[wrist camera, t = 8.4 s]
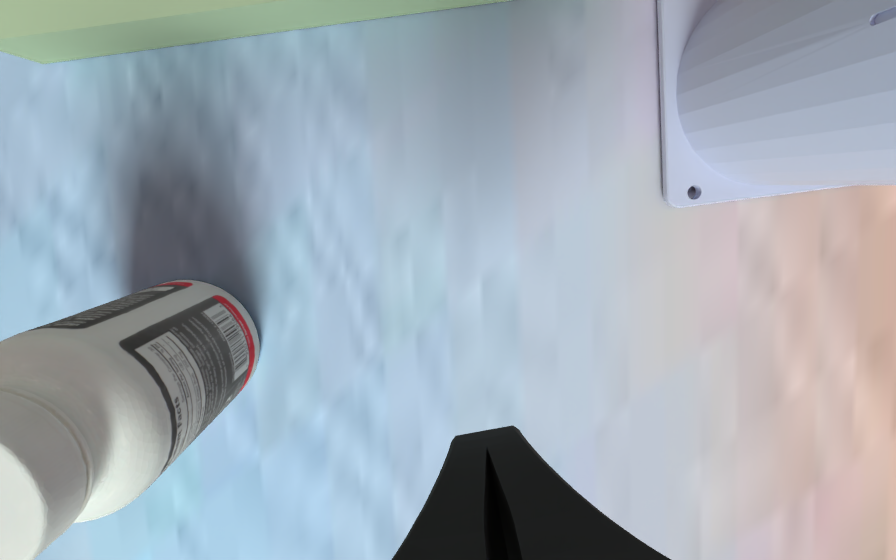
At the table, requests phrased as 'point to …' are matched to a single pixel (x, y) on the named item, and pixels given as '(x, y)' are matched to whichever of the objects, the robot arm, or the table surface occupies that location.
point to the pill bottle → (111, 403)
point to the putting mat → (175, 22)
